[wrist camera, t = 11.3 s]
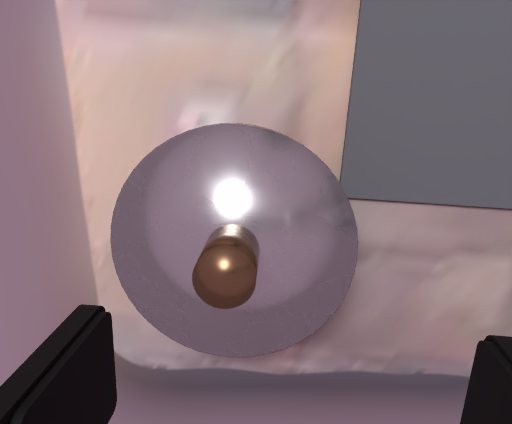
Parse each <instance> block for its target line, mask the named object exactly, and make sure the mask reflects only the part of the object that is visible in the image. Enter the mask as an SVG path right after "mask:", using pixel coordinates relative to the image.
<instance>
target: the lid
mask: <svg viewBox="0 0 512 424" xmlns="http://www.w3.org/2000/svg"><path fill="white" fill-rule="evenodd" d="M111 249H112V257H113V261H114V265H115V269H116V272H117V275H118V277H119V280H120V282H121V285H122V287H123V289H124V290H125V292H126V294H127V296H128V298H129V299H130V301H131V302H132V303H133V305H134V306H135V307H136V309H137V310H138V311H139V312H140V313H141V314H142V316H143V317H144V318H145V319H146V320H147V321H148V322H149V323H150V324H152V325H153V326H154V327H155V328H156V329H158V330H159V331H160V332H162V333H163V334H165V335H166V336H168V337H169V338H171V339H172V340H174V341H176V342H178V343H180V344H182V345H184V346H186V347H189V348H192V349H194V350H197V351H200V352H204V353H208V354H212V355H218V356H225V357H251V356H260V355H264V354H269V353H273V352H276V351H279V350H282V349H285V348H288V347H290V346H292V345H294V344H296V343H298V342H300V341H302V340H303V339H305V338H306V337H308V336H309V335H311V334H312V333H314V332H315V331H316V330H317V329H318V328H320V327H321V326H322V325H323V324H324V323H325V322H326V321H327V320H328V319H329V318H330V317H331V316H332V315H333V313H334V312H335V311H336V309H337V308H338V306H339V305H340V304H341V302H342V301H343V299H344V297H345V295H346V293H347V291H348V289H349V287H350V284H351V281H352V278H353V275H354V272H355V267H356V262H357V252H358V237H357V227H356V222H355V218H354V214H353V210H352V208H351V205H350V203H349V200H348V197H347V195H346V194H345V192H344V190H343V188H342V186H341V185H340V183H339V181H338V180H337V178H336V177H335V176H334V174H333V173H332V172H331V170H330V169H329V168H328V166H327V165H326V164H325V163H324V162H323V161H322V160H321V159H320V158H319V157H318V156H317V155H316V154H314V153H313V152H312V151H310V150H309V149H308V148H307V147H305V146H304V145H303V144H301V143H299V142H297V141H296V140H294V139H292V138H291V137H289V136H287V135H284V134H282V133H279V132H277V131H274V130H272V129H268V128H264V127H260V126H257V125H250V124H242V123H220V124H214V125H207V126H202V127H199V128H195V129H192V130H189V131H186V132H184V133H182V134H180V135H177V136H175V137H173V138H171V139H169V140H167V141H166V142H164V143H163V144H161V145H159V146H158V147H156V148H155V149H154V150H153V151H152V152H150V153H149V154H148V155H147V156H146V157H144V158H143V160H142V161H141V162H140V163H139V164H138V165H137V166H136V167H135V169H134V170H133V171H132V173H131V174H130V176H129V177H128V179H127V180H126V182H125V183H124V185H123V187H122V190H121V192H120V194H119V196H118V198H117V202H116V205H115V208H114V211H113V217H112V223H111Z"/></svg>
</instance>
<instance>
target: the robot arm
mask: <svg viewBox="0 0 512 424" xmlns="http://www.w3.org/2000/svg"><path fill="white" fill-rule="evenodd" d="M116 402H117V391H116V376H115V362H114V346H113V331H112V317H111V314H110V313H109V312H105V308H104V307H103V306H95V305H79V306H78V307H77V308H76V309H75V310H74V311H73V312H72V313H71V314H70V315H69V316H68V317H67V318H66V319H65V320H64V322H62V323H61V324H60V326H59V327H58V328H57V329H56V330H55V331H54V332H53V333H52V334H51V335H50V336H49V337H48V338H47V339H46V340H45V341H44V342H43V343H42V344H41V345H40V346H39V347H38V348H37V349H36V350H35V352H33V354H31V356H30V357H28V359H27V360H26V361H25V362H24V363H23V364H22V365H21V366H20V367H19V368H18V369H17V370H16V371H15V372H14V373H13V374H12V375H11V376H10V377H9V378H8V379H7V380H6V381H5V382H4V383H3V384H2V385H1V386H0V424H108V422H109V420H110V419H111V416H112V415H113V413H114V410H115V407H116ZM460 424H512V337H506V336H493V335H489V336H487V337H486V338H485V340H484V341H479V343H478V345H477V348H476V353H475V357H474V362H473V367H472V371H471V376H470V381H469V386H468V390H467V394H466V399H465V404H464V408H463V413H462V417H461V422H460Z"/></svg>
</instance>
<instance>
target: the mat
mask: <svg viewBox="0 0 512 424" xmlns="http://www.w3.org/2000/svg"><path fill="white" fill-rule="evenodd" d="M340 185H341V186H342V188H343V190H344V192H345V194H346V195H347V197H348V198H360V199H374V200H389V201H404V202H418V203H433V204H448V205H463V206H477V207H492V208H507V209H512V0H361V2H360V10H359V19H358V28H357V36H356V45H355V54H354V62H353V71H352V80H351V89H350V97H349V106H348V115H347V123H346V132H345V141H344V149H343V158H342V167H341V175H340Z"/></svg>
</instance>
